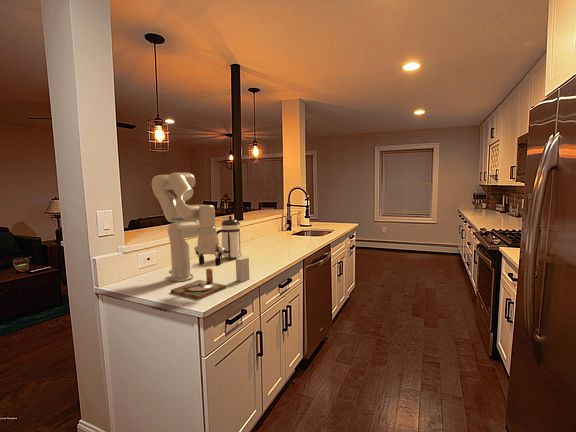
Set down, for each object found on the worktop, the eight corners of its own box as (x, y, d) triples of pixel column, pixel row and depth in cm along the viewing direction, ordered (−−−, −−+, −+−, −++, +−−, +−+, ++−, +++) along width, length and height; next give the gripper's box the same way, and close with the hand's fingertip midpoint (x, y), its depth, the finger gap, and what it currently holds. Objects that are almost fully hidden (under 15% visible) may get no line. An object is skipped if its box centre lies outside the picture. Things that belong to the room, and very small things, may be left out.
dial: (206, 281, 162) (206, 266, 161) (218, 287, 152) (218, 271, 151) (178, 287, 152) (177, 271, 151) (188, 294, 142) (187, 277, 141)
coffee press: (223, 255, 231) (222, 214, 228) (244, 255, 228) (243, 214, 225) (215, 261, 213) (213, 217, 211) (237, 261, 211) (236, 217, 208)
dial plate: (170, 292, 150) (170, 289, 150) (198, 282, 166) (198, 279, 166) (199, 299, 141) (198, 296, 141) (226, 288, 156) (226, 284, 156)
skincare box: (244, 277, 173) (243, 256, 172) (249, 279, 171) (249, 257, 170) (236, 280, 169) (235, 258, 168) (241, 281, 166) (240, 259, 165)
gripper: (188, 231, 153) (190, 265, 154) (218, 231, 146) (220, 267, 147) (198, 229, 160) (200, 262, 161) (227, 229, 153) (229, 264, 154)
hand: (209, 265), depth 154 cm, fingers open, 9 cm apart
